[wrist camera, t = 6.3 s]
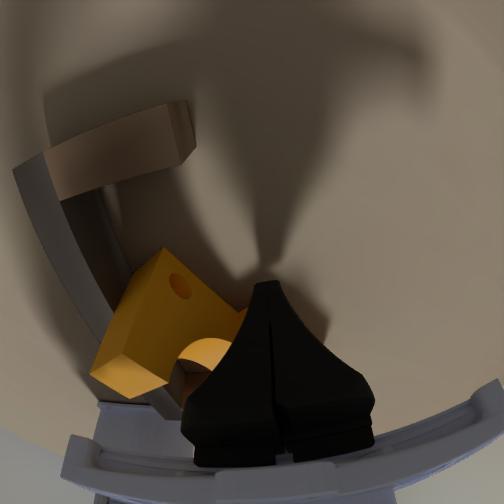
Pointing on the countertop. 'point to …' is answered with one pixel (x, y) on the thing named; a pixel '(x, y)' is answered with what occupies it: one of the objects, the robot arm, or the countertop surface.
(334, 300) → the countertop surface
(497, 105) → the countertop surface
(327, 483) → the robot arm
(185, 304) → the yellow bracket
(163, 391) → the dark brown long trough
